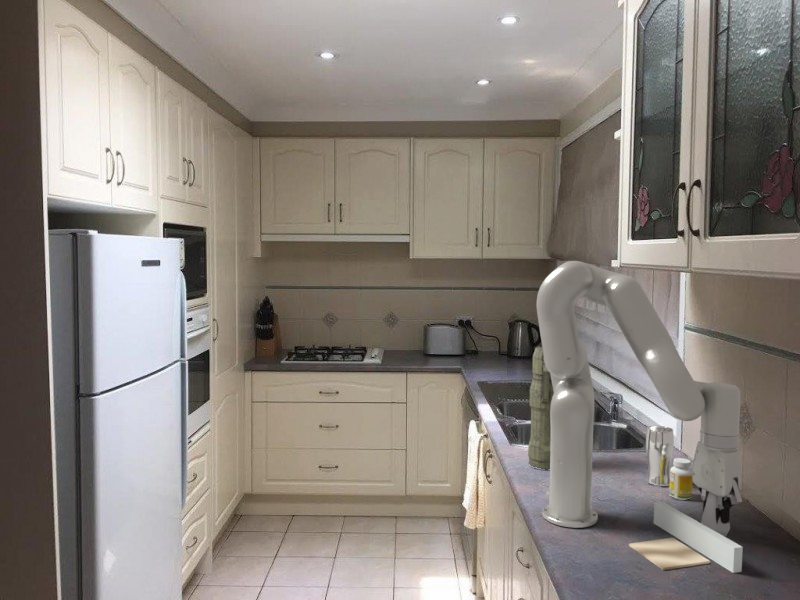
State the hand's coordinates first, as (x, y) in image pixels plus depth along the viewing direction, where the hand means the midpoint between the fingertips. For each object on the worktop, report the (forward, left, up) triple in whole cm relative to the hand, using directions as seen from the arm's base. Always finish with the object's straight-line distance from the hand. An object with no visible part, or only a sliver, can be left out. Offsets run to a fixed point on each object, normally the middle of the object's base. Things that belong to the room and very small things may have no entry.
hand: (715, 521), depth 143 cm
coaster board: (+5, -16, -3) cm, 17 cm away
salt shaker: (0, 0, -3) cm, 3 cm away
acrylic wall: (+3, -8, -3) cm, 9 cm away
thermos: (-52, -14, -3) cm, 54 cm away
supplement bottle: (-21, +8, -4) cm, 23 cm away
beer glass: (-31, +9, -3) cm, 32 cm away
